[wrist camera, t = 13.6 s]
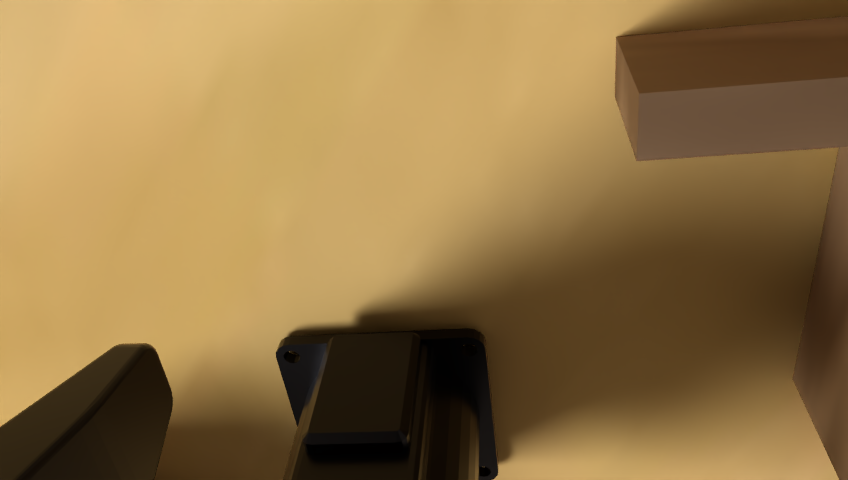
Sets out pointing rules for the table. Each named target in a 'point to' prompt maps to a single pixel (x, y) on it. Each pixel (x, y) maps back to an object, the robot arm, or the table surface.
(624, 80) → the brown angular piece
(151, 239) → the table surface
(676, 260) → the table surface
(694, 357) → the table surface
